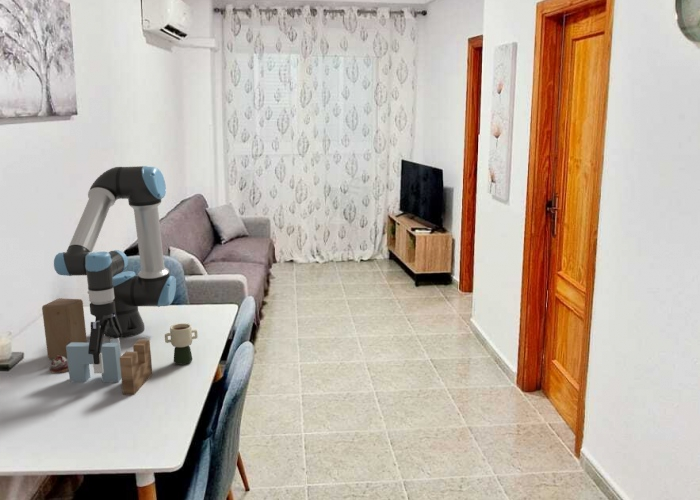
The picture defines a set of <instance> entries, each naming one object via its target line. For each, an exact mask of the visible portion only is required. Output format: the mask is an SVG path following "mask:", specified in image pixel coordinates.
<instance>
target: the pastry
mask: <svg viewBox="0 0 700 500" xmlns="http://www.w3.org/2000/svg"><path fill="white" fill-rule="evenodd" d="M49 370H50V372H51V373H54V374H64V373H69V369H68V360H67V359H66V358H65V357H62V356H58V355H57V356H56V358H55V360H52V362H51V366H50V367H49Z"/></svg>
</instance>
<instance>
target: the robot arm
mask: <svg viewBox="0 0 700 500" xmlns="http://www.w3.org/2000/svg"><path fill="white" fill-rule="evenodd" d="M166 189H167V187H166V181H165V177H164V174H163V173H162V171H161V170H160V169H159V168H158V167H155V166H147V165H142V166H115V167H111V168H109V169H107V170H106V171H104V172H103V173H101V174H100V175H99V176H98V177H97V178H96V179H95V180H94V181H93V183H92V184H91V186H90V188H89V190H88V192H87V196H88V197H87V198H88V200H87V203H86V205H85V207H84V209H83V211H82V215H81V217H80V220H79V221H78V224H77V227H76V229H75V231H74V232H73V236H72V238H71V240H70V242H69V244H68V248H67V249H66V251H65V252H58V253H57V254H56V255H55V256H54V259H53V268H54V271H55V272H56V274H57V275H59V276H69V277H72V276H74V277H75V276H78V277H79V276H86V281H87V294H88V299H89V300H88V301H89V312H90V315H92V316H94V318H95V321H91V322H90V332H89V333H90V334H89V342H88V343H89V350H88V354H92V355H93V364H92V365H93V372H94V374H102V373H104V369H103V359H102V353H100V352H101V347H102V343H104V342H103V341H104V338H105V337H108V338H110V343H119V345H120V346H121V344H120V343H121V341H120V338H121V339H122V338H128V337H133V336H137V335H139V334H142V333H143V332H144V331H145V322H144V320H143V318H142V315H141V314H140V312H139V307H158V308H160V307H168V306H170V305H171V304H172V303H173V301H174V299H175V295H176V289H177V280H176V277H175V276H173V275H170V269H169V268H167V267H166V266H165V260H164V259H165V258H164V250H163V242H162V241H163V240H162V232H161V223H160V216H159V205H161V204H162V199H163V198H165V196H166V192H167V191H166ZM121 199H122V200H128V201H127V203H128V206H129V207H131V208H132V209H133V213H134V214H133V215H134V222H135V229H136V237H137V246H138V254H139V262H140V270H139V272H138V273H137V275H136V272H135V271H131V270H128V271H127V270H126V268H127V267H128V264H129V259H128V256H127V254H125V252H123V251H122V250H119V249H115V250H110V251H94V248H95V245H96V243H97V241H98V238H99V236H100V233H101V231H102V228H103V225H104V223H105V220H106V218H107V215H108V213H109V210H110V208H111V207H113V206H114V205H115V203H116V201H117V200H121ZM125 270H126V271H125ZM104 336H105V337H104ZM121 351H122V350H120V355H121V356H122V354H121Z"/></svg>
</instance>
